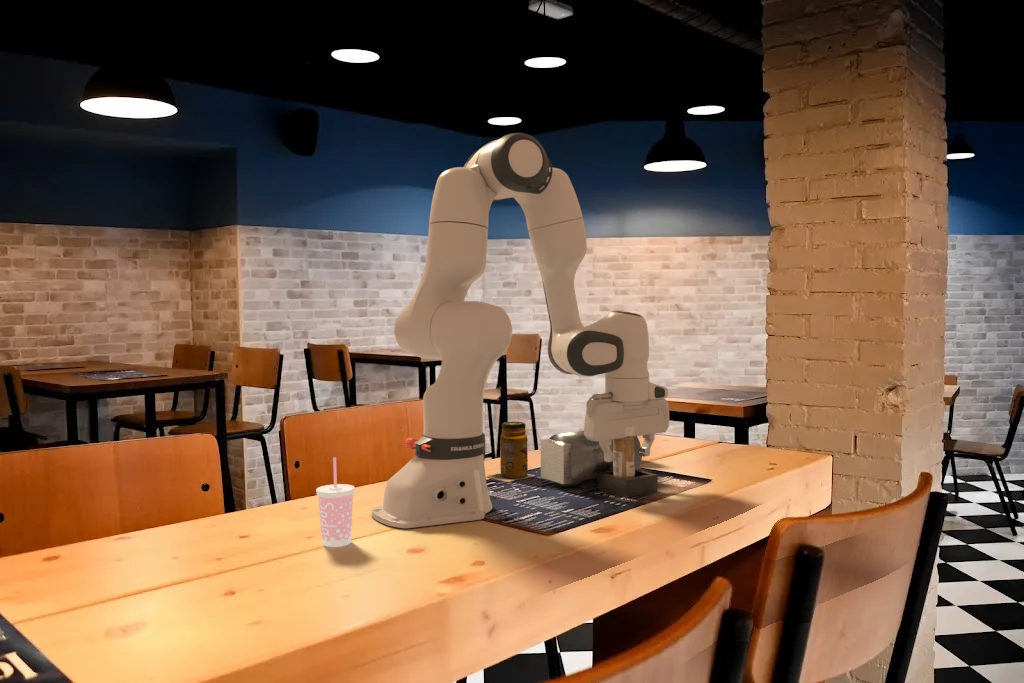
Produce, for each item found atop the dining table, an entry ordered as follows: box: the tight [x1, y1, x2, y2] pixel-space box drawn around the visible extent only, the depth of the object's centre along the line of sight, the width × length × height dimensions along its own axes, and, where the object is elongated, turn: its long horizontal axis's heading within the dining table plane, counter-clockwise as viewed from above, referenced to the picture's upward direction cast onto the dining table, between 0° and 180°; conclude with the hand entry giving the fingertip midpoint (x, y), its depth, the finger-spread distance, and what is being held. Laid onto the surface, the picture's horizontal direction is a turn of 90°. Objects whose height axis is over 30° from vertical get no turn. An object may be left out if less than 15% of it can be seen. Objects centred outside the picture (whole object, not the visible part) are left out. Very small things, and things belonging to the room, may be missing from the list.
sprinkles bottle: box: [613, 427, 635, 479], centre depth 166 cm, size 5×5×13 cm
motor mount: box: [540, 430, 659, 499], centre depth 172 cm, size 23×21×11 cm
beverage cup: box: [315, 457, 355, 548], centre depth 133 cm, size 6×6×14 cm
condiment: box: [486, 421, 537, 483], centre depth 181 cm, size 7×8×12 cm
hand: (627, 458), depth 166 cm, fingers open, 8 cm apart
